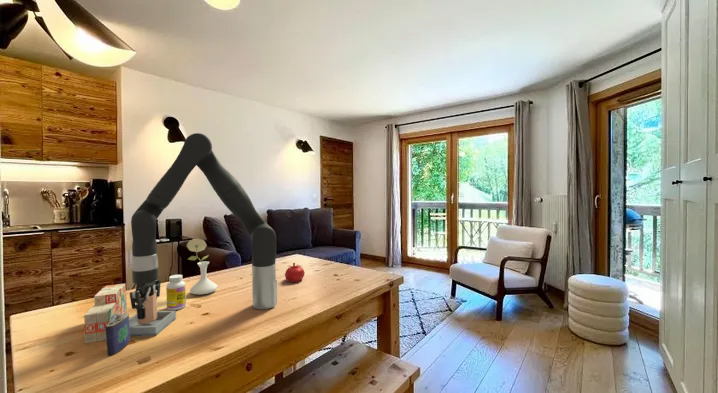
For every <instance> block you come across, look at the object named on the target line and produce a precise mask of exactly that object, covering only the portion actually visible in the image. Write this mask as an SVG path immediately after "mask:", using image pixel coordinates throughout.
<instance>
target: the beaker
mask: <svg viewBox="0 0 718 393" xmlns="http://www.w3.org/2000/svg"><path fill="white" fill-rule="evenodd" d="M152 294H153V295H152V296H149V297H148V300H147V301H145V318H144V319H138V318H137V323H138V324H147V323H151V322H153V321H155V320H156V319H157V311H158V302H157V299H158V297H157V296H156V293H152ZM144 298H145V297H144ZM144 298H141V297H140V299H144ZM141 305H142V301H141ZM135 312H136V313H135V314H136V317H137V309H135Z"/></svg>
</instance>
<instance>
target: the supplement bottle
mask: <svg viewBox="0 0 718 393" xmlns="http://www.w3.org/2000/svg"><path fill="white" fill-rule="evenodd" d="M168 281H169V282H168V283H167V284H166V308H167V311H177V310H181V309H184V308H185V307H186V304H187V300H186V299H187V297H186V294H187V293H186V282H185V281H183V274H172V275H170V276H169V277H168Z"/></svg>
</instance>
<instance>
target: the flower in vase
mask: <svg viewBox="0 0 718 393" xmlns="http://www.w3.org/2000/svg"><path fill="white" fill-rule="evenodd" d="M207 246H208V245H207V243H206V241H205V240H204V239H201V238H195V239H194V238H192V239H191V240H189V241H188V242H187V244H186V248H187V249H188V251H190V252H194V253H196V255H195V256H194V255H191V256H190V257H188V258H187V260H189V261H196V260H197V259H198V260H199V262H197V266H198V267H199V268H200V269H199V271H200V279H199V280H198V281H197V282H195V284H193V286H192V287H190V289H189V292H190V293H191V294H193V295H206V294H211V293H213V292H215V291H216V290H218V284H216V283H215V282H213V280H210V279H209V278H208V277H207V268H208V266H209V264H210V261H206V259H207V258H208V257H209V256H210V254H207V255H206V256H203V257H202V258H201V259H200V257H198V253H199V252H202V251H205V250H206V248H207ZM204 260H205V261H204Z"/></svg>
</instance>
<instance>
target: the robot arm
mask: <svg viewBox="0 0 718 393" xmlns="http://www.w3.org/2000/svg"><path fill="white" fill-rule="evenodd" d="M212 148H213V146H212V141H211V139H210V138H209V137H208V136H207V135H206V134H203V133H199V132H197V133H192V134H190V135H188V136H187V137H186V138H185V140H184V142H183V145H182V147H181V149H180V151H179V153H178V155H177V157H176V158H175V159H174V161H173V163H172V164H171V166H170V167H169V168H168V169H167V171H166V172H165V173H164V174H163V175H162V177H161V178H160V179H159V180H158V182H157V183H156V184H155V186H154V187H153V188H152V190H150V193H149V194H147V197H146V199H145V200H144V201H143V202H142V203H141V205H140V206H139V207H138V208H137V209H136V210H135V212H134V213H133V214H132V215H131V219H130V225H131V235H132V237H131V238H132V245H131V246H132V247H131V251H132V252H131V254H132V259H131V273H132V283H134V284H135V285H136V288H135V290H134V291H131V292H130V293H129V300H130V303H131V304H130V306H131V309H132V310H136V309H137V318H138V319H144V318H145V301H147V300H148V297H149V296H152V295H153V294H152V293H156V296H157V298H159V297H160V295H161V285H162V284H161V279H159V258H158V248H157V243H158V242H157V239H156V237H157V220H158V218H159V217H160V215H161V214H162V213H163V211H164V210H165V209H166V208H167V207H168V206H169V205H170V204H171V203H172V201H173V200H174V199H175V197H176V195H177V194H178V192H179V191H180V190H181V188H182V187H183V185H184V184H185V182H186V180H187V179H188V177H189V175H190V174H191V172H192V171H193V170H194V168H195V167H196V166H197V168H198V169H199V170H200V171H201V172H202V173H203V175H204V176H205V177H206V179H207V181H208V182H209V184H210V185H211V188H212V189H213V191H214V192H215V193H216V195H217V196H218V197H219V199H220V201H222V204H224V205H225V207H226V208H227V209H228V210H229V211H230V213H231V214H232V215H233V216H234V217H236V218H237V219H238V221H240V222H241V224H242V225H243V227H244V228H245V230H246V232H247V233H248V235H249V237H250V239H251V242H252V243H251V244H252V249H251V250H252V256H251V275H252V277H251V280H252V281H251V282H252V283H251V284H252V286H251V287H252V289H251V290H252V308H253V309H255V310H267V309H270V308H272V309H273V308H275V307H276V305H277V303H278V280H277V279H276V276H277V275H276V272H277V271H276V259H277V234H276V231H275V230H274V229H273V228H272V227H271V226H270V225H269V224H268V223H267V222H266V221H265V220H264V219H263V217H261V215H260V214H259V212H258V211H257V210H256V207H255V206H254V204H253V202H252V201H251V198H250V196H249V195H248V194H247V192H246V190H245V189H244V187H243V186H242V185H241V183H240V182H239V181H238V180H237V179H236V178H235V177H234V175H232V173H230V171H228V169H226V168H225V167H224V166H223V165H222V164H221V162H220V161H219V159H218V158H217V155H216V154H215V153H214V151H213V149H212ZM140 297H141V298H144V297H145V298H144V299H140ZM141 301H142V305H141Z"/></svg>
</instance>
